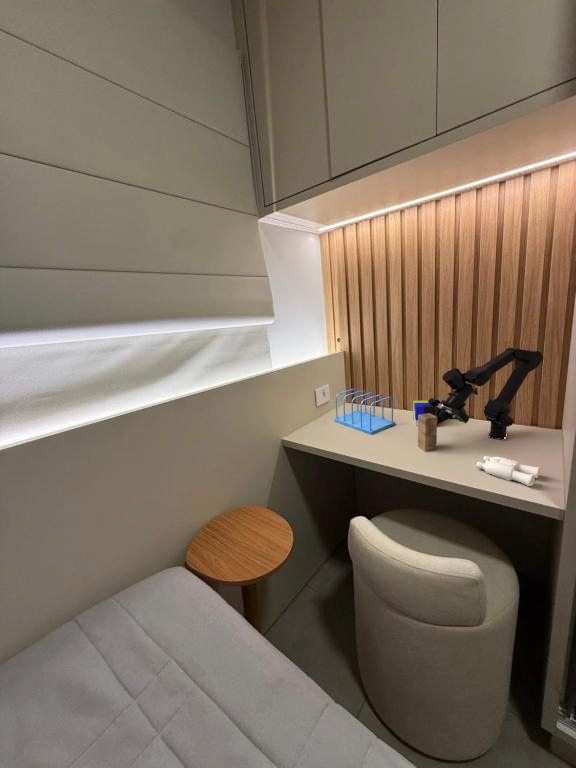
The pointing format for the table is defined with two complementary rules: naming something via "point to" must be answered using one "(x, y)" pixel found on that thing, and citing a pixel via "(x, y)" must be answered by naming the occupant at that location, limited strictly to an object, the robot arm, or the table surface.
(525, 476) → the binoculars
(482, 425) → the table surface
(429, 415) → the walnut block
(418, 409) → the puzzle toy
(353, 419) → the file sorter
